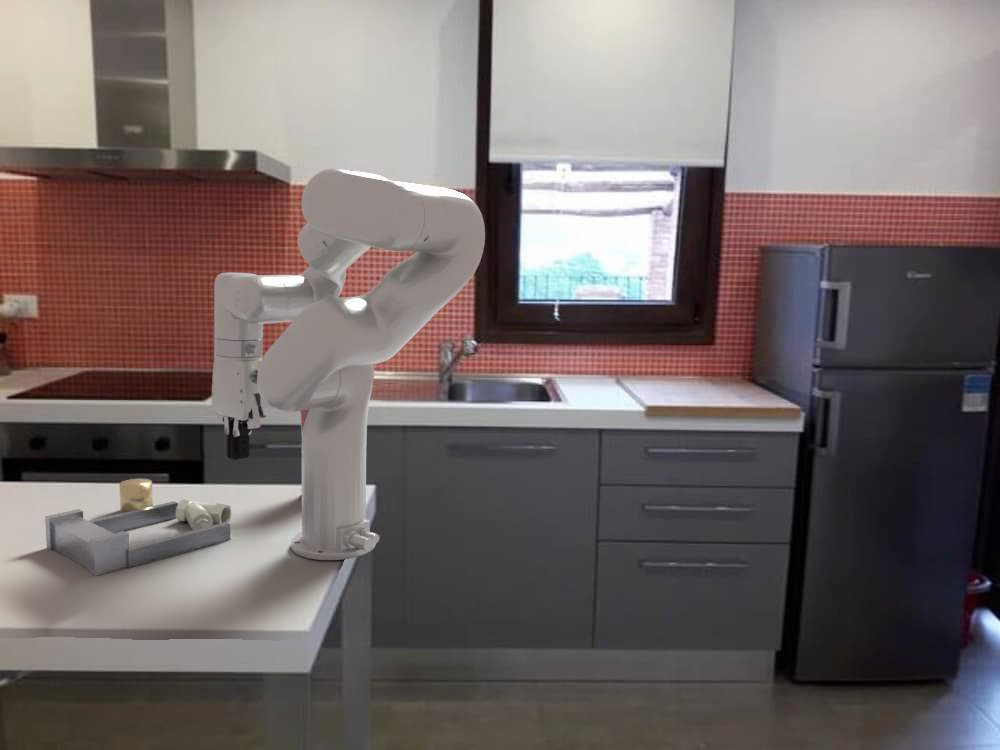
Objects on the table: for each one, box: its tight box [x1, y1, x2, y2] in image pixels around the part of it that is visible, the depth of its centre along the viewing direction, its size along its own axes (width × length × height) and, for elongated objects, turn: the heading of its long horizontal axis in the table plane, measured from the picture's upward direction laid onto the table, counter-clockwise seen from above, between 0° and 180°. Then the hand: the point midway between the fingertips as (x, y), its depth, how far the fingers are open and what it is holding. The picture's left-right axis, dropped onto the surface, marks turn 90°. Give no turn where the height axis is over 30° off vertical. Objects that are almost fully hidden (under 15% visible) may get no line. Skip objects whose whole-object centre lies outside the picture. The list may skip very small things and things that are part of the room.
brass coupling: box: [119, 478, 154, 513], centre depth 138 cm, size 5×5×5 cm
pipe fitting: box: [175, 499, 232, 531], centre depth 131 cm, size 8×4×7 cm
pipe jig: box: [44, 501, 231, 576], centre depth 123 cm, size 16×20×5 cm
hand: (238, 457), depth 136 cm, fingers closed
